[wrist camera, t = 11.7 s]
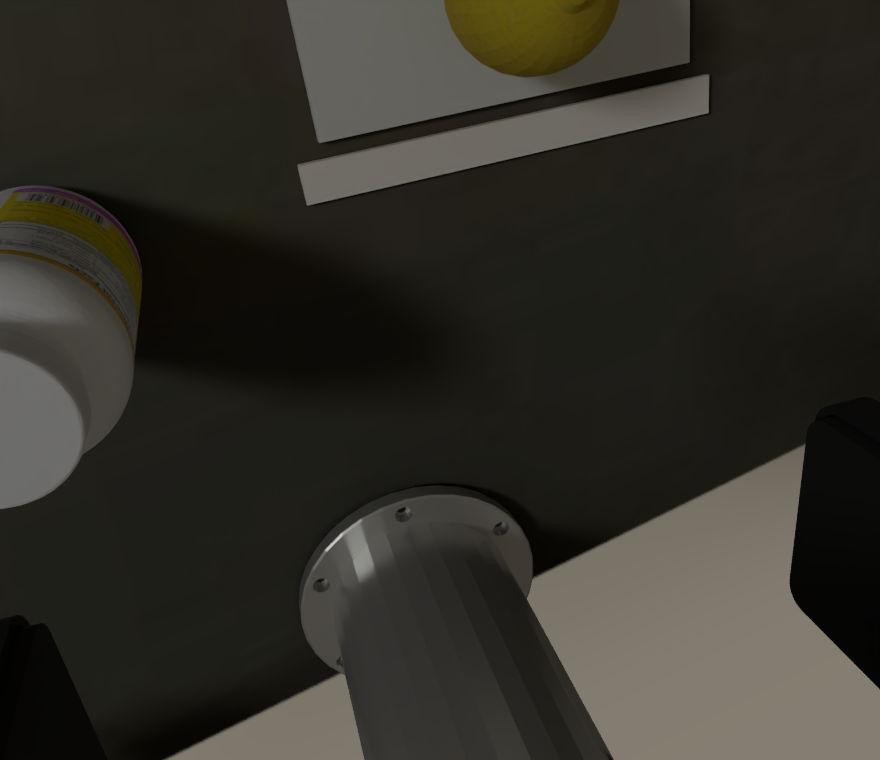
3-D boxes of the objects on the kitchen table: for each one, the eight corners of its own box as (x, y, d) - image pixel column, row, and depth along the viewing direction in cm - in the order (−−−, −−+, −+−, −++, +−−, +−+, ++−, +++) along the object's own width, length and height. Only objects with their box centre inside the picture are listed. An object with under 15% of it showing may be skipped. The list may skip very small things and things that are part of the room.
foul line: (704, 111, 35) (708, 112, 35) (306, 203, 32) (307, 205, 32) (705, 74, 35) (709, 74, 34) (297, 164, 31) (297, 166, 31)
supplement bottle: (17, 371, 32) (-70, 581, 21) (-87, 220, 29) (-254, 378, 18) (175, 308, 33) (170, 480, 22) (92, 153, 29) (37, 265, 18)
